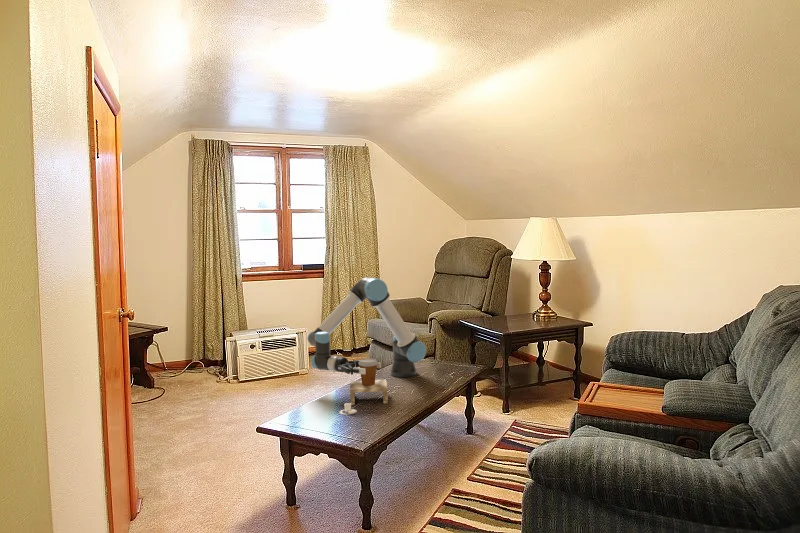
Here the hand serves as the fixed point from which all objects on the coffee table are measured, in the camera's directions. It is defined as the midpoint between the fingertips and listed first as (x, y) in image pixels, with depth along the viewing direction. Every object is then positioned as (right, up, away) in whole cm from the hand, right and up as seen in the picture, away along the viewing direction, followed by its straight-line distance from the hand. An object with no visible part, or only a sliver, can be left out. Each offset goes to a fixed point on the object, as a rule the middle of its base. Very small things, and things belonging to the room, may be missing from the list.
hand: (373, 368), depth 277 cm
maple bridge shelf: (-2, -16, +3) cm, 16 cm away
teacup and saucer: (-12, -18, -19) cm, 29 cm away
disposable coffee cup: (-2, -8, +2) cm, 9 cm away
